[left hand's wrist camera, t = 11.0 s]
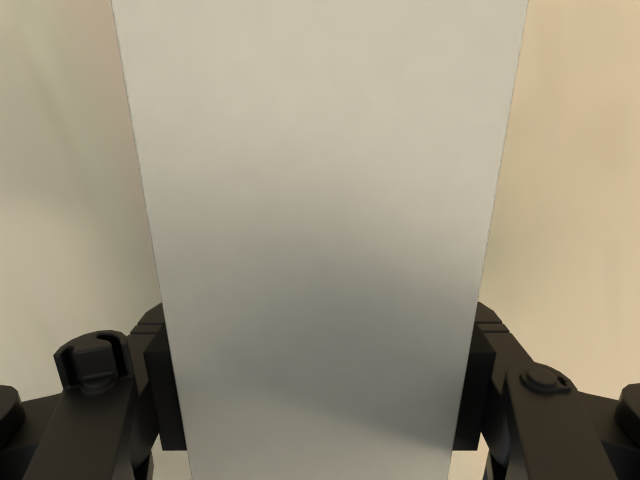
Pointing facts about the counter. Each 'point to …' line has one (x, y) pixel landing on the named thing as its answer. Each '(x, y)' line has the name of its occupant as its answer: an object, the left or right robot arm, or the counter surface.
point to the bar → (319, 220)
